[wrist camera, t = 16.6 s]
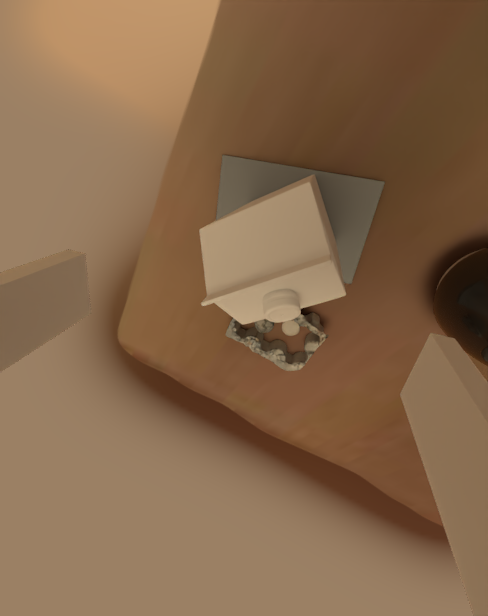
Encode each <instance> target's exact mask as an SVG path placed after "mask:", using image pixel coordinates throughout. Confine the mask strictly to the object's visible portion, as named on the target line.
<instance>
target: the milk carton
mask: <svg viewBox="0 0 488 616" xmlns="http://www.w3.org/2000/svg"><path fill="white" fill-rule="evenodd" d="M199 231H200V240H201V248H202V257H203V265H204V274H205V282H206V291H207V297H206V298H205V299H204V300H203V301H202V302H201V304H202V306H206V305H209V304H212V303H215V304H216V305H217V306H219V307H220V308H221V309H223V310H224V311H225V312H226V313H228V314H229V315H230V316H232V317H233V318H234V319H236V320H237V321H238V322H239V323H241V324H248V323H252V322H256V321H259V320H263V319H267V320H268V321H271V322H286V321H289V320H292V319H295V318H297V317H298V316H299V315H300V313H301V309H302V308H305V307H309V306H312V305H316V304H319V303H323V302H326V301H330V300H333V299H336V298H340V297H343V296H345V295H346V291H345V286H344V281H343V276H342V271H341V265H340V260H339V255H338V250H337V245H336V240H335V237H334V234H333V231H332V228H331V224H330V221H329V218H328V215H327V212H326V209H325V205H324V202H323V199H322V196H321V193H320V189H319V186H318V183H317V180H316V177H315V175H311V176H308V177H306V178H304V179H301V180H299V181H297V182H294V183H292V184H290V185H288V186H285V187H283V188H281V189H279V190H276V191H274V192H272V193H269V194H267V195H265V196H263V197H260V198H258V199H256V200H254V201H251V202H250V203H248V204H246V205H244V206H242V207H240V208H238V209H237V210H235V211H233V212H231V213H229V214H227V215H225V216H223V217H222V218H220V219H218V220H216V221H214V222H212V223H210V224H209V225H207V226H205V227H203V228H201V229H200V230H199Z"/></svg>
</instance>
